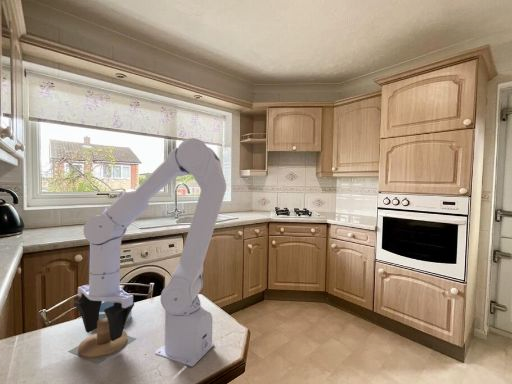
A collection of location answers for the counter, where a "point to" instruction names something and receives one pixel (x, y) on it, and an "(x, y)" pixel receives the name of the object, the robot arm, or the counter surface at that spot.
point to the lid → (101, 342)
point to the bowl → (106, 305)
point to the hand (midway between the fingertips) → (103, 334)
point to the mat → (99, 359)
